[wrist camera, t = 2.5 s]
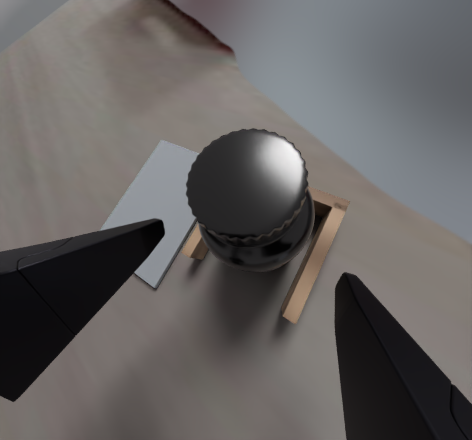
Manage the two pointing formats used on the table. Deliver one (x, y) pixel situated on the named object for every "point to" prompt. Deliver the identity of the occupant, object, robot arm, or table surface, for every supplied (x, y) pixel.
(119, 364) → the table surface
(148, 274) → the slate mat
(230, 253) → the supplement bottle
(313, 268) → the tan wooden bay
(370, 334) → the robot arm
